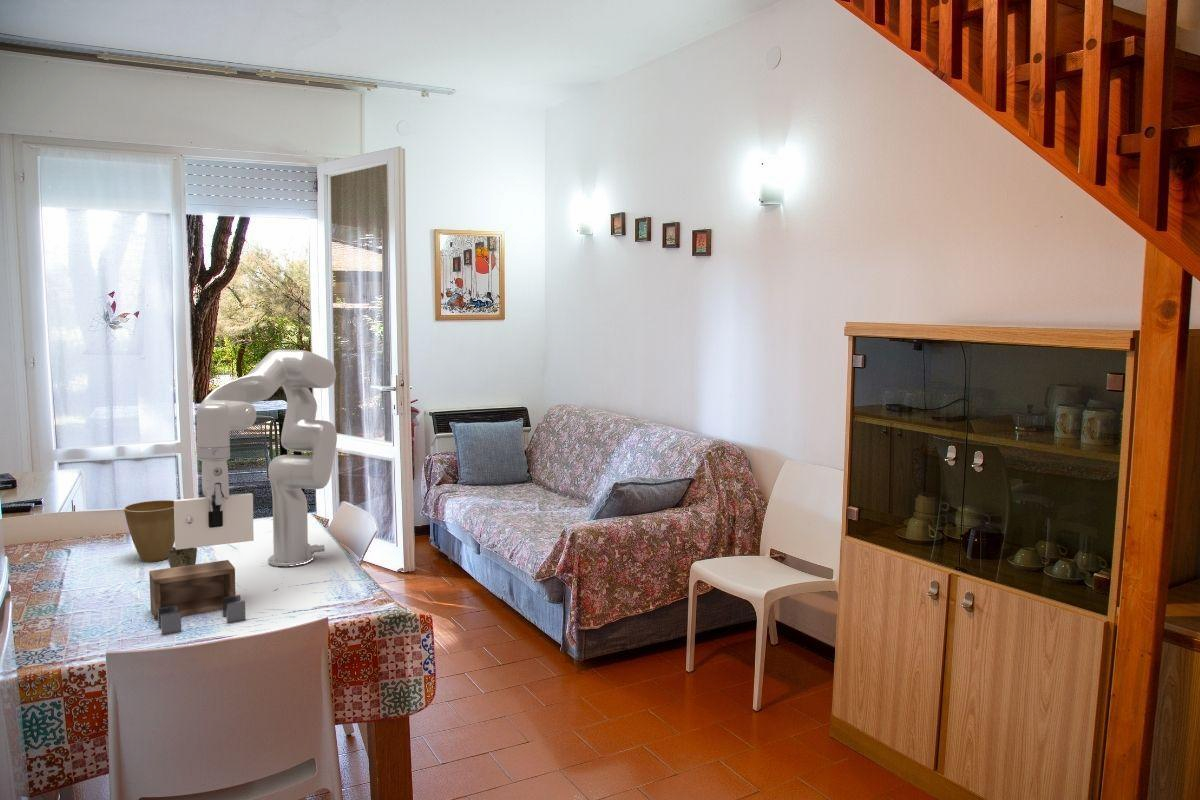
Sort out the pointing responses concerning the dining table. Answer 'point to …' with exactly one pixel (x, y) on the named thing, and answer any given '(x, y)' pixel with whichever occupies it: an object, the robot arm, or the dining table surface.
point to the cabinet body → (192, 587)
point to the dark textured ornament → (182, 557)
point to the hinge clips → (172, 617)
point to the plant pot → (151, 528)
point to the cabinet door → (195, 522)
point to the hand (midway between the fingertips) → (214, 525)
